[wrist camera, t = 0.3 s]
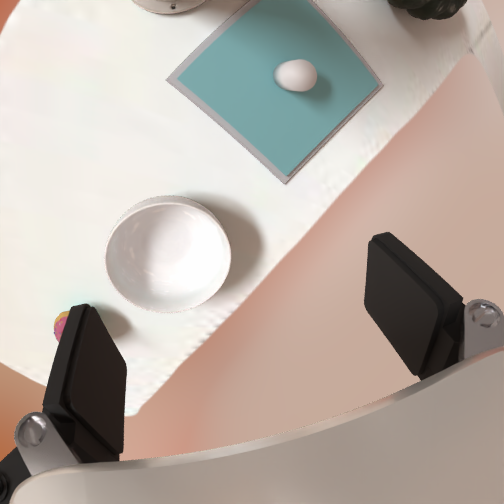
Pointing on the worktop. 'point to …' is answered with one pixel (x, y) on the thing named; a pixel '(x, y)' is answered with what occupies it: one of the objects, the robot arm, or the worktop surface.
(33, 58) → the worktop surface
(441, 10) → the squash
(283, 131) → the lid
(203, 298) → the cereal bowl
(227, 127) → the mat
